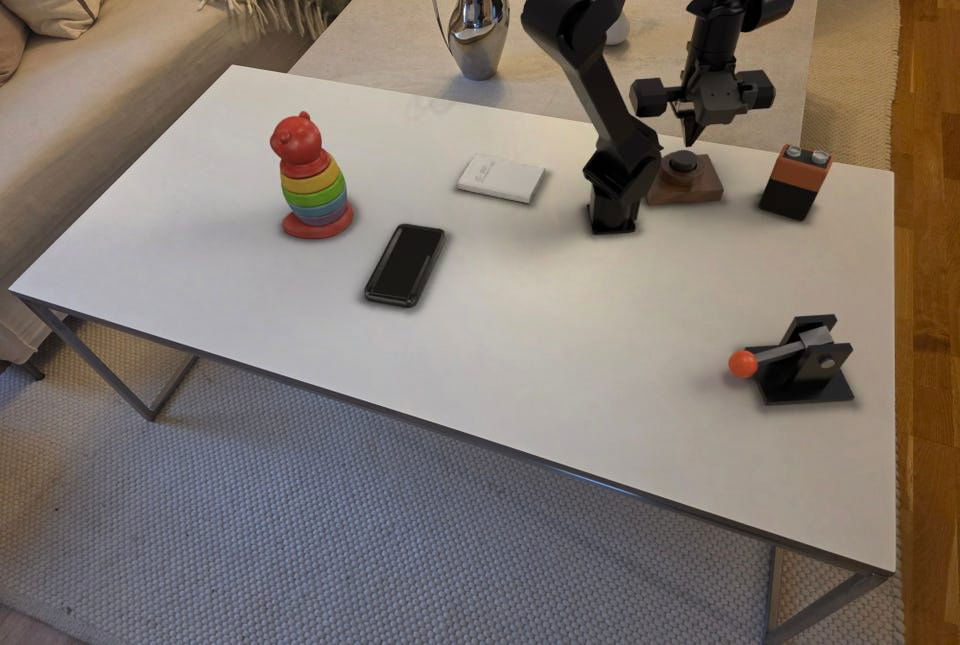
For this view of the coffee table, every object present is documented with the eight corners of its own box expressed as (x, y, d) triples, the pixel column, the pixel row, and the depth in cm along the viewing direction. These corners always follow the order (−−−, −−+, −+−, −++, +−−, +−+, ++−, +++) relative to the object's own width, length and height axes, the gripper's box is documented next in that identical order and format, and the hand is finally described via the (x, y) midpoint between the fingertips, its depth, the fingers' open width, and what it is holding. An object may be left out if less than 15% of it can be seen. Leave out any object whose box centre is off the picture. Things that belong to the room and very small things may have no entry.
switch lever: (735, 386, 69) (730, 373, 67) (727, 363, 71) (722, 350, 69) (837, 357, 65) (835, 342, 63) (826, 334, 67) (823, 319, 65)
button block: (649, 205, 91) (653, 185, 88) (637, 169, 97) (641, 149, 94) (720, 200, 91) (727, 179, 88) (704, 165, 97) (710, 144, 93)
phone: (361, 294, 82) (399, 222, 91) (363, 299, 83) (400, 227, 92) (414, 303, 80) (447, 229, 89) (415, 308, 81) (448, 235, 90)
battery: (803, 222, 87) (831, 167, 79) (756, 208, 89) (779, 153, 82) (811, 205, 89) (838, 149, 81) (765, 192, 92) (787, 136, 84)
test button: (673, 174, 90) (675, 165, 89) (668, 160, 92) (670, 150, 91) (697, 172, 90) (699, 163, 89) (691, 158, 92) (693, 148, 91)
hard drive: (529, 205, 93) (457, 189, 97) (545, 174, 98) (476, 160, 101) (529, 197, 92) (457, 181, 95) (545, 166, 96) (476, 152, 100)
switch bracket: (763, 408, 68) (790, 366, 62) (742, 352, 73) (764, 307, 67) (850, 402, 68) (887, 359, 61) (823, 347, 73) (854, 301, 66)
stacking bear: (320, 190, 99) (286, 92, 85) (369, 206, 95) (342, 107, 81) (278, 230, 93) (234, 133, 79) (328, 249, 90) (292, 151, 76)
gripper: (654, 80, 71) (636, 184, 83) (810, 68, 71) (768, 174, 83) (636, 36, 78) (621, 138, 90) (777, 25, 78) (743, 129, 90)
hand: (687, 145), depth 88 cm, fingers closed
